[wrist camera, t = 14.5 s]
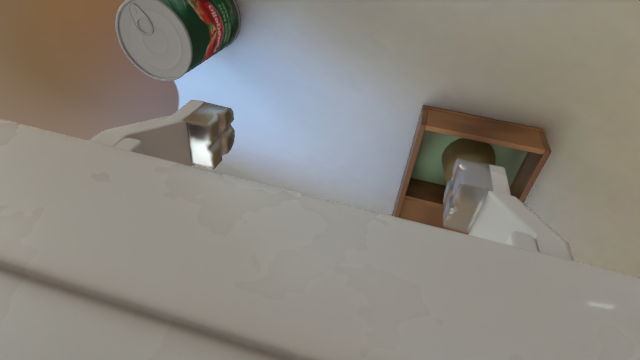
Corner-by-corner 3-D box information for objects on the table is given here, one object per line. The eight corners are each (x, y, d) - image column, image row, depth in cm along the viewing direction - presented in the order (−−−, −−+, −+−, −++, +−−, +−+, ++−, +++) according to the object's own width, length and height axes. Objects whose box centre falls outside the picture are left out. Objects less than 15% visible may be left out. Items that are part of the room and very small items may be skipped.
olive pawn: (503, 170, 46) (515, 234, 37) (452, 186, 49) (453, 247, 40) (485, 129, 43) (493, 186, 35) (433, 147, 46) (429, 205, 38)
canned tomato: (252, 33, 45) (206, 66, 36) (203, 57, 48) (150, 92, 40) (216, -37, 41) (155, -20, 33) (165, -6, 45) (99, 17, 36)
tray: (542, 128, 42) (551, 151, 39) (479, 251, 55) (481, 277, 51) (422, 104, 44) (420, 124, 41) (388, 228, 57) (384, 252, 53)
